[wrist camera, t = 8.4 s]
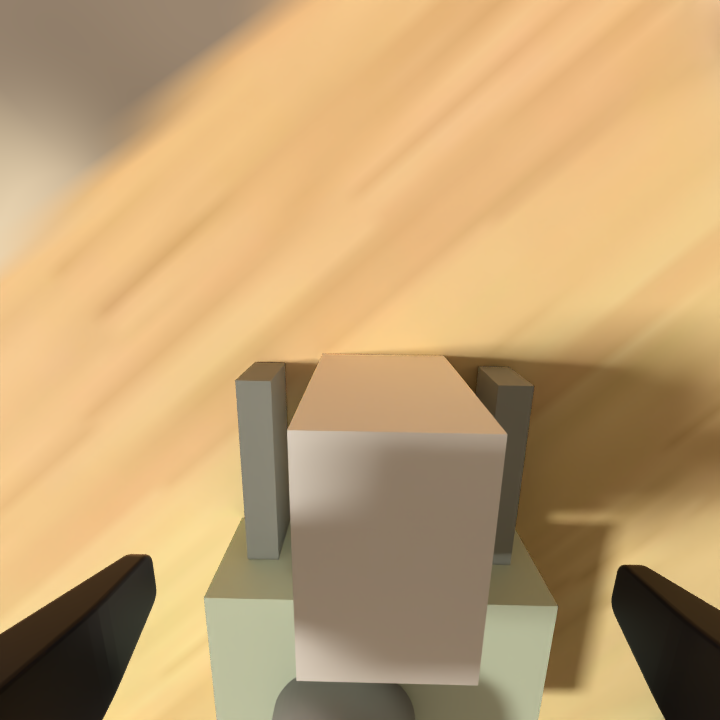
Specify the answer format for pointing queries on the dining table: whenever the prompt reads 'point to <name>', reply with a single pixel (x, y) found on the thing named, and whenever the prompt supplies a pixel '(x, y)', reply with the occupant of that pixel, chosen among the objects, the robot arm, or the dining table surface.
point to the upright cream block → (392, 521)
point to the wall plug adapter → (275, 588)
